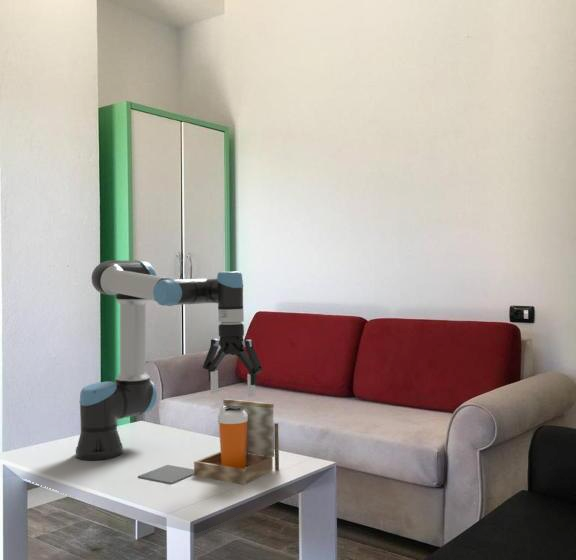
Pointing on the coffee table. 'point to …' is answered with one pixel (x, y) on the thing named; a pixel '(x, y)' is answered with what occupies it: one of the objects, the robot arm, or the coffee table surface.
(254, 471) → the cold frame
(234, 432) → the shaker bottle
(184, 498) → the coffee table surface
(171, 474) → the slate coaster
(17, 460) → the coffee table surface
